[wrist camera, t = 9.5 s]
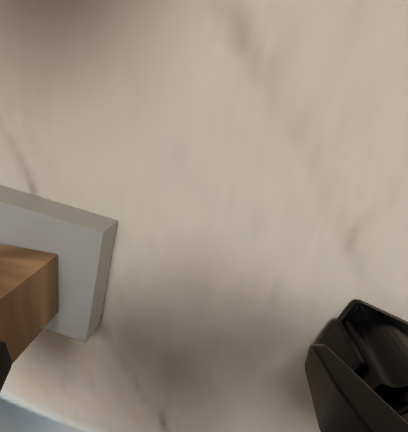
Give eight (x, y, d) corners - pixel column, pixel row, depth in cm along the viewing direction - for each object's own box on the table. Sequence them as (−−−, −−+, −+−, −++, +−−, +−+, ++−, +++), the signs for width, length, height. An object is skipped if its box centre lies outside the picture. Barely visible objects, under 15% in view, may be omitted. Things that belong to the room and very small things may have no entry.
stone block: (120, 218, 22) (103, 232, 20) (103, 318, 26) (85, 342, 23) (2, 182, 23) (-32, 191, 20) (0, 285, 26) (-30, 305, 23)
